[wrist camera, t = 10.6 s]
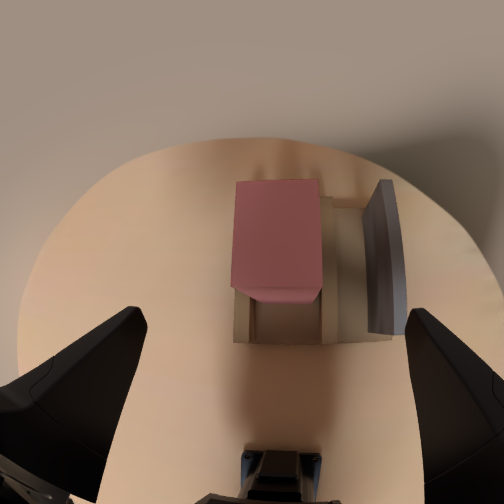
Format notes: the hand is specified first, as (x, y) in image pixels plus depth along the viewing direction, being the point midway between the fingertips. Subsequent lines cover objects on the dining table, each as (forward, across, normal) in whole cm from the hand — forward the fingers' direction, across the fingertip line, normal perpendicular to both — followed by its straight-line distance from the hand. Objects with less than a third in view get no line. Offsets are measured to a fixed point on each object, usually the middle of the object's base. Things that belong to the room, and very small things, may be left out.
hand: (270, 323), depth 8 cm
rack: (+12, -2, +6) cm, 13 cm away
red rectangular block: (+11, 0, +6) cm, 12 cm away
